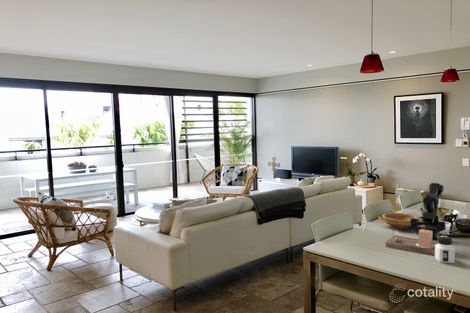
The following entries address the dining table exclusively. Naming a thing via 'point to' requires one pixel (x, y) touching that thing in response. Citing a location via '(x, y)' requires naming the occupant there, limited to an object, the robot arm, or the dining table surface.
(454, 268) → the dining table surface
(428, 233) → the peach colored cube
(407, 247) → the walnut board
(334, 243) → the dining table surface
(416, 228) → the robot arm
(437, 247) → the container
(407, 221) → the wooden bowl
